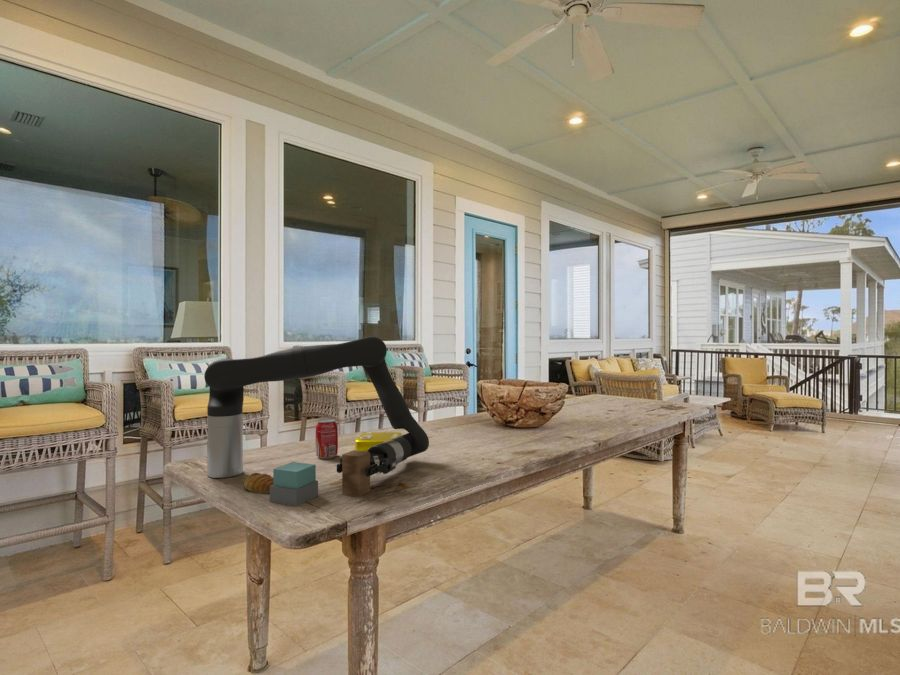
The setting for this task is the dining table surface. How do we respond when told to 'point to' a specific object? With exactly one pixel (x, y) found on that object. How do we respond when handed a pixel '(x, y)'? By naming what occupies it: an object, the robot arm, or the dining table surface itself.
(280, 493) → the tower base slab
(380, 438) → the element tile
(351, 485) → the walnut pillar
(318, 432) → the soda can
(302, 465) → the tower top slab
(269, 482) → the pastry
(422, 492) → the dining table surface
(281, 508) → the dining table surface
